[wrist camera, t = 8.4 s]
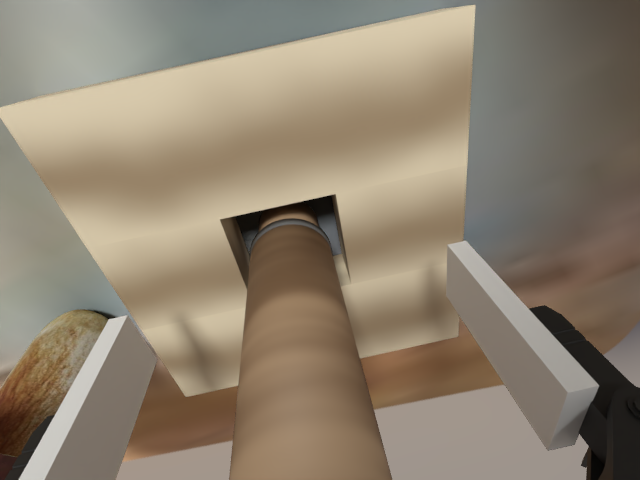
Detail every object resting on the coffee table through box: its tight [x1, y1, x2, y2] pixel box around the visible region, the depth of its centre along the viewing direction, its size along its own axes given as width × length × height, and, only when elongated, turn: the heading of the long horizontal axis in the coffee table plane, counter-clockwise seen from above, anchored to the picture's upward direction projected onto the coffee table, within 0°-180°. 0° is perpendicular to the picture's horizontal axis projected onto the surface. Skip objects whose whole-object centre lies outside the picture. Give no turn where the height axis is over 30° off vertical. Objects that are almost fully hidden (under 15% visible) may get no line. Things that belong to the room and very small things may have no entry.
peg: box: [229, 202, 392, 480], centre depth 14 cm, size 4×4×14 cm
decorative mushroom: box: [0, 310, 108, 480], centre depth 16 cm, size 11×11×15 cm
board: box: [0, 5, 475, 397], centre depth 19 cm, size 18×18×3 cm
